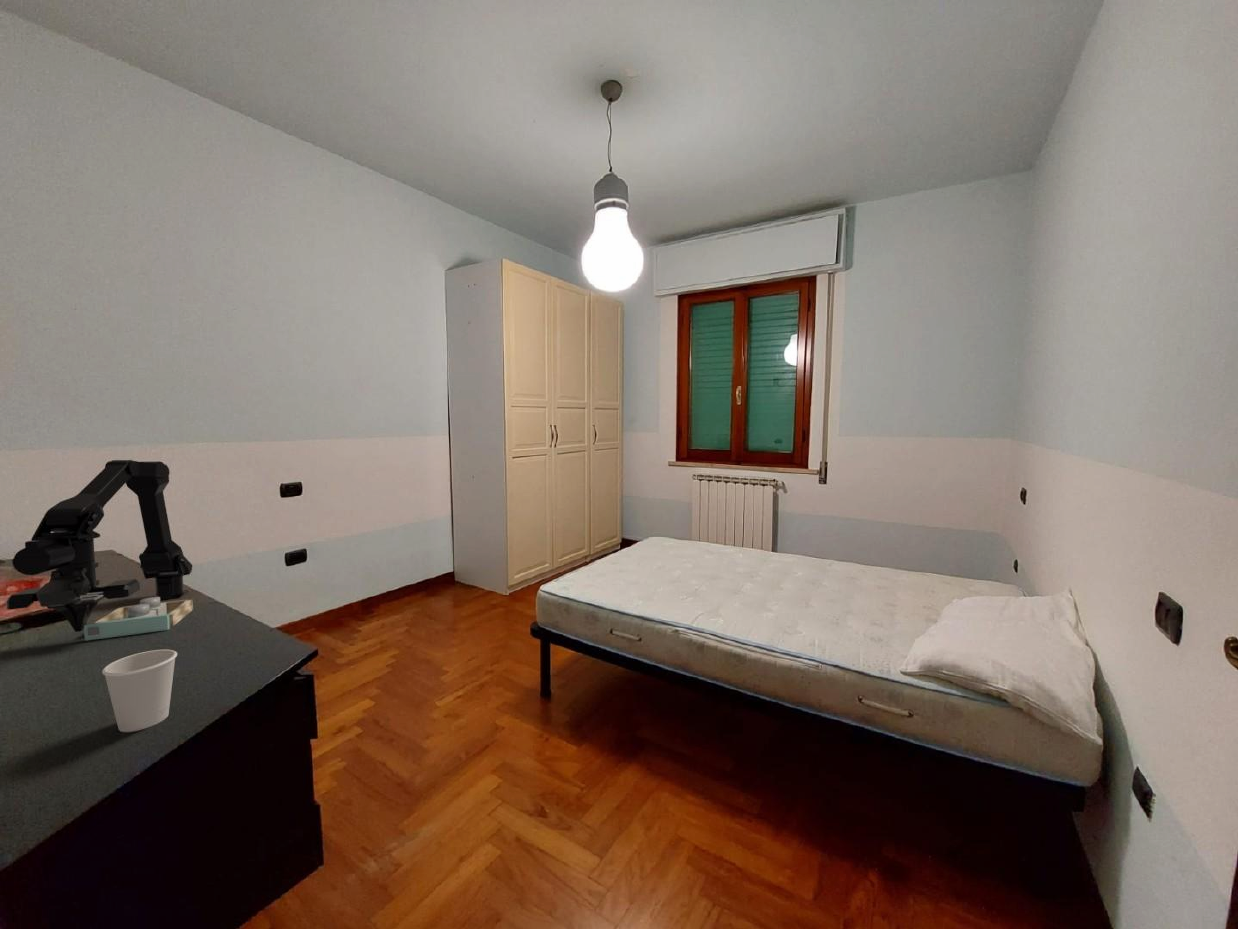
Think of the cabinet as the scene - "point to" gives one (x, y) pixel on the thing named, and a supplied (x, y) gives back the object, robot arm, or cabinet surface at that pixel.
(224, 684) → the cabinet surface
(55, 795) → the cabinet surface
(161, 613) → the jaw
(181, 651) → the cabinet surface
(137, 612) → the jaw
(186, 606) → the housing
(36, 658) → the cabinet surface
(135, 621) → the panel
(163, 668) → the dixie cup
